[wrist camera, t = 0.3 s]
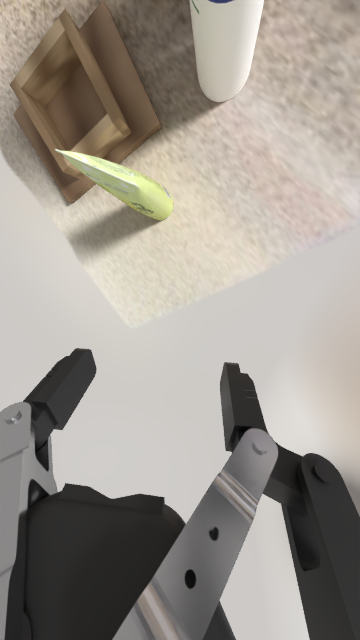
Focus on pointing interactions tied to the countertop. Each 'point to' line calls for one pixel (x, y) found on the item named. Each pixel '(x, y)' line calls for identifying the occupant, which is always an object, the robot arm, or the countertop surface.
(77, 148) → the wooden box on board
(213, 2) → the cylindrical container
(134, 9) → the countertop surface
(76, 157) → the tube
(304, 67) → the countertop surface
